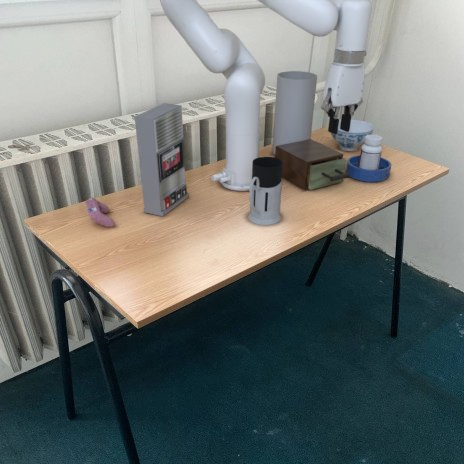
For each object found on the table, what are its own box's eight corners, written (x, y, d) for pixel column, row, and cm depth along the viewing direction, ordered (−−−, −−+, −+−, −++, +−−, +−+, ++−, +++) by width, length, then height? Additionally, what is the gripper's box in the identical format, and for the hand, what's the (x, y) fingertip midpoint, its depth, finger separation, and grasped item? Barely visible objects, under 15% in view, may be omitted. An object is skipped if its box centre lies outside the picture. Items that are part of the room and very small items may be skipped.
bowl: (366, 186, 146) (368, 173, 143) (336, 171, 155) (338, 159, 152) (397, 177, 151) (400, 165, 149) (367, 164, 160) (369, 152, 158)
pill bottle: (363, 168, 156) (370, 132, 149) (380, 173, 153) (388, 136, 146) (353, 173, 153) (359, 137, 146) (370, 178, 149) (377, 141, 142)
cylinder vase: (300, 146, 173) (308, 70, 158) (314, 158, 164) (323, 78, 149) (267, 149, 171) (271, 72, 155) (279, 162, 161) (285, 80, 146)
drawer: (355, 187, 143) (359, 165, 138) (322, 196, 137) (325, 173, 133) (313, 166, 156) (315, 145, 152) (281, 173, 151) (283, 151, 147)
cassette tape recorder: (163, 217, 128) (155, 120, 113) (144, 213, 130) (133, 116, 115) (189, 197, 138) (184, 105, 123) (170, 193, 140) (164, 102, 125)
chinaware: (353, 158, 164) (356, 135, 160) (318, 147, 173) (321, 125, 169) (378, 148, 173) (382, 126, 168) (344, 138, 181) (347, 116, 177)
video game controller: (96, 218, 130) (79, 198, 126) (110, 209, 130) (94, 188, 126) (101, 235, 123) (84, 214, 118) (116, 225, 123) (100, 204, 118)
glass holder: (286, 214, 130) (290, 159, 121) (265, 237, 120) (268, 179, 111) (256, 207, 133) (258, 153, 124) (233, 229, 123) (234, 172, 114)
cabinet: (339, 181, 148) (343, 153, 143) (304, 190, 143) (307, 161, 138) (307, 165, 159) (310, 138, 154) (273, 173, 153) (275, 145, 148)
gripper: (363, 52, 128) (352, 123, 139) (313, 57, 121) (306, 132, 132) (383, 56, 123) (370, 130, 134) (333, 63, 116) (323, 140, 127)
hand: (338, 130), depth 133 cm, fingers open, 3 cm apart
